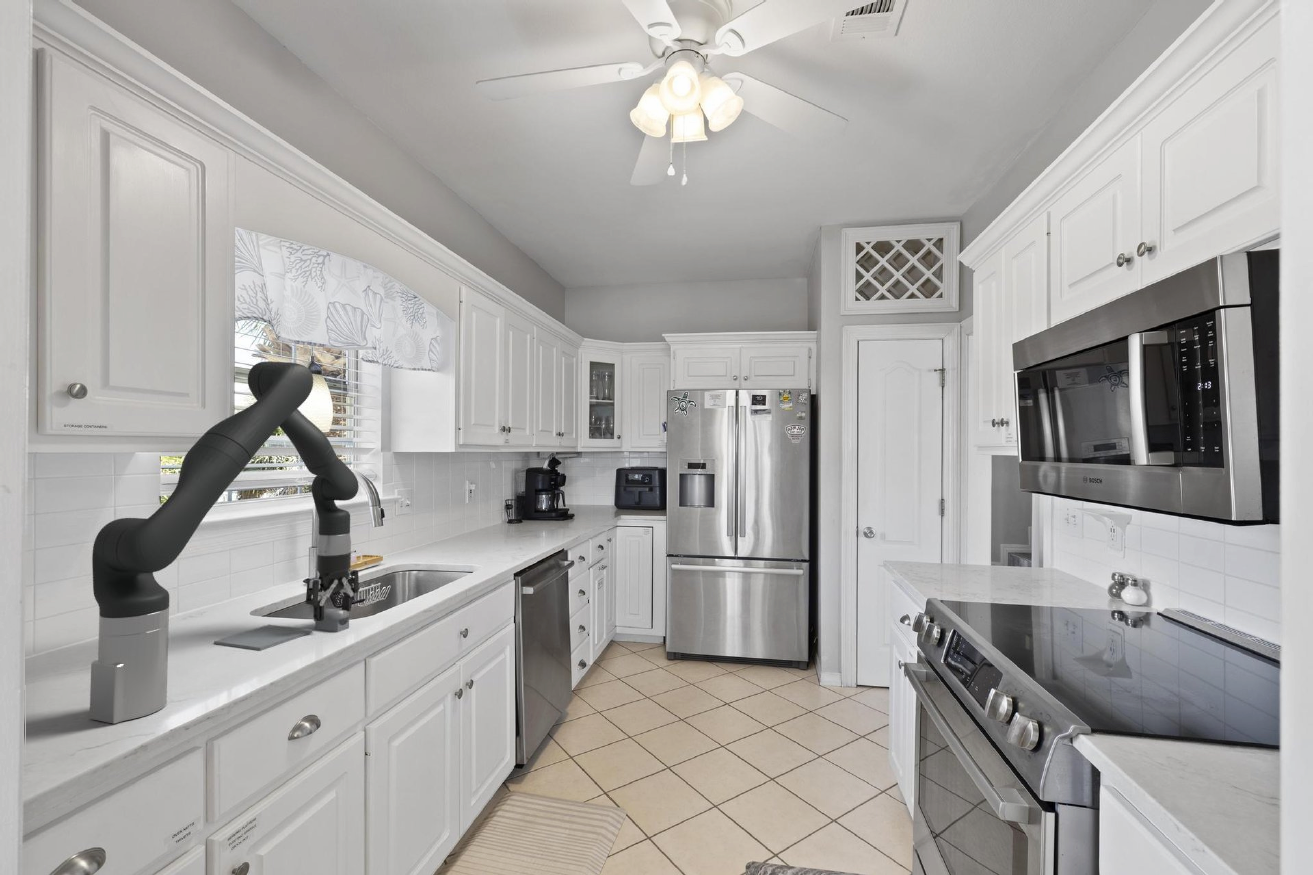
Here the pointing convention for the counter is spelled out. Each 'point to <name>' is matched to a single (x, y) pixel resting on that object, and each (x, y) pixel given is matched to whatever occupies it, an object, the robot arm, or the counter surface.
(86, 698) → the counter surface
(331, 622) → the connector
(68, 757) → the counter surface
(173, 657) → the counter surface
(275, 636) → the slate mat
